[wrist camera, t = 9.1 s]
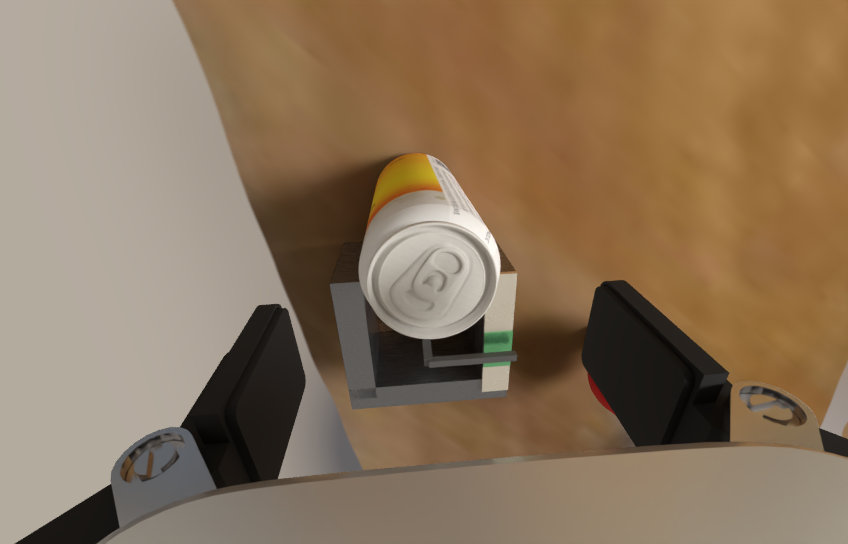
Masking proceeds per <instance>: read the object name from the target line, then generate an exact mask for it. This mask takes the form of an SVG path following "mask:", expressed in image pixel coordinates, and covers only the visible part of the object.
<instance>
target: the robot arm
mask: <svg viewBox="0 0 848 544" xmlns="http://www.w3.org/2000/svg"><path fill="white" fill-rule="evenodd" d="M582 362H583V365H584V367H585V369H586V370H587V372H588V373H589V375H590V376H591V378H592V379H593V381H594V382H595V384H596V386H597V387H598V389H599V390H600V392H601V393H602V395H603V396H604V398H605V399H606V401H607V403H608V404H609V406H610V407H611V409H612V410H613V412H614V413H615V415H616V416H617V418H618V419H619V421H620V423H621V424H622V426H623V427H624V429H625V430H626V432H627V433H628V435H629V436H630V438H631V440H632V441H633V443H634V444H635V446H636V447H628V448H616V449H604V450H591V451H579V452H567V453H554V454H542V455H531V456H519V457H507V458H496V459H484V460H473V461H461V462H450V463H438V464H427V465H416V466H406V467H395V468H384V469H373V470H362V471H351V472H341V473H331V474H321V475H312V476H303V477H293V478H284V479H278V476H279V472H280V469H281V466H282V463H283V459H284V456H285V452H286V449H287V446H288V442H289V439H290V436H291V432H292V429H293V426H294V422H295V419H296V416H297V412H298V409H299V405H300V402H301V399H302V395H303V392H304V389H305V374H304V370H303V366H302V362H301V358H300V354H299V351H298V347H297V343H296V339H295V335H294V331H293V328H292V324H291V320H290V316H289V312H288V310H287V309H286V308H281V306H280V305H279V304H271V305H259V306H258V307H257V308H256V309H255V311H254V313H253V314H252V316H251V317H250V319H249V321H248V323H247V324H246V325H245V327H244V329H243V330H242V332H241V334H240V335H239V337H238V339H237V340H236V342H235V343H234V345H233V347H232V348H231V350H230V351H229V353H227V354H226V355H225V356H224V357H223V359H222V360H221V362H220V364H219V366H218V367H217V369H216V370H215V372H214V373H213V375H212V377H211V378H210V380H209V381H208V383H207V385H206V386H205V388H204V389H203V391H202V393H201V394H200V396H199V397H198V399H197V401H196V402H195V404H194V405H193V407H192V409H191V410H190V412H189V414H188V415H187V417H186V418H185V420H184V421H183V423H182V425H181V426H180V427H169V428H165V429H161V430H158V431H156V432H153V433H151V434H149V435H146V436H145V437H143V438H142V439H140V440H138V441H137V442H135V443H134V444H133V445H132V446H131V447H129V448H128V449H127V450H126V451H125V452H124V453H123V454H122V455H121V457H120V458H119V459H118V460H117V461H116V463H115V465H114V467H113V469H112V472H111V484H110V485H108V486H107V487H105V488H104V489H102V490H101V491H99V492H97V493H96V494H94V495H93V496H91V497H89V498H88V499H86V500H85V501H83V502H81V503H80V504H78V505H76V506H75V507H73V508H71V509H70V510H68V511H67V512H65V513H63V514H62V515H61V516H59V517H57V518H56V519H54V520H52V521H51V522H49V523H47V524H46V525H44V526H43V527H41V528H39V529H38V530H36V531H34V532H33V533H31V534H30V535H28V536H26V537H25V538H23V539H22V540H20V541H18V542H17V543H15V544H848V439H846V438H844V437H841V436H838V435H836V434H833V433H830V432H828V431H825V430H823V429H820V428H819V427H818V422H817V419H816V417H815V415H814V413H813V412H812V411H811V410H810V409H809V408H808V407H807V405H806V404H804V403H803V402H802V401H800V400H799V399H798V398H796V397H795V396H793V395H791V394H789V393H787V392H786V391H784V390H782V389H779V388H777V387H774V386H771V385H769V384H764V383H760V382H754V381H742V382H738V383H736V384H734V385H732V384H731V383H730V382H729V381H728V380H726V379H727V377H728V375H729V372H728V371H726V370H725V369H724V368H723V367H722V366H721V365H720V364H719V363H717V362H716V361H715V360H714V359H713V358H712V357H711V356H710V355H708V354H707V353H706V352H705V351H704V350H703V349H702V348H701V347H699V346H698V345H697V344H696V343H695V342H694V341H693V340H692V339H690V338H689V337H688V336H687V335H686V334H685V333H684V332H683V331H681V330H680V329H679V328H678V327H677V326H676V325H675V324H673V323H672V322H671V321H670V320H669V319H668V318H667V317H666V316H664V315H663V314H662V313H661V312H660V311H659V310H658V309H657V308H655V307H654V306H653V305H652V304H651V303H650V302H649V301H648V300H646V299H645V298H644V297H643V296H642V295H641V294H640V293H639V292H637V291H636V290H635V289H634V288H633V287H632V286H631V285H630V284H628V283H627V282H626V281H624V280H618V281H604V282H603V283H602V284H601V286H599V287H597V288H596V290H595V294H594V299H593V303H592V308H591V313H590V317H589V322H588V327H587V332H586V336H585V341H584V346H583V351H582Z"/></svg>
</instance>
